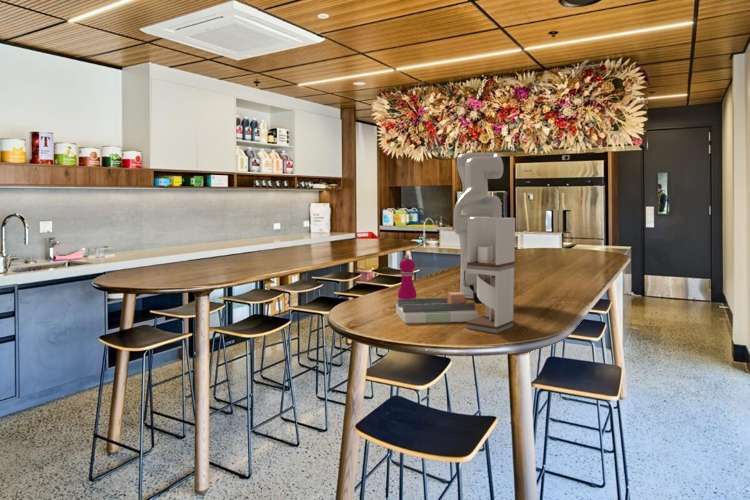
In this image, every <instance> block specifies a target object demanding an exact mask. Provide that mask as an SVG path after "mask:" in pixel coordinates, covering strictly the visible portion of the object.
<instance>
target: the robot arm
mask: <svg viewBox="0 0 750 500" xmlns="http://www.w3.org/2000/svg"><path fill="white" fill-rule="evenodd" d="M456 169H457V173H458V175H459V177H460V181H461V185H462V194H461V196H460V197H459V198H458V200H457V201H456V203H455V205H454V207H453V231H454V233H455V234H456V235H457V236H458V237H459V244H460V245H459V246H460V247H459V248H460V273H459V275H460V280H459V281H460V285H459V286H460V288H459V289H460V290H459V292H462V293H464V294H465V297H466V299H472V300H473V302H474V303H475V305H480V304H481V305H482V304H483V303H482V302H481V301H480V300H479V299H478V297H477V274H473V273H467V238H468V218H483V217H490V218H503V217H502V208H503V207H502V202H501V199H500V197H499V196H497V195H489V186H488V180H493V179H494V180H495V179H496V180H497V179H501V178H502V176H503V174H504V162H503V159H502V157H501V155H500V154H499V153H498V152H494V151H493V152H464V153H461V154H459V155H458V156H457V158H456Z"/></svg>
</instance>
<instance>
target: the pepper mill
mask: <svg viewBox="0 0 750 500" xmlns="http://www.w3.org/2000/svg"><path fill="white" fill-rule="evenodd" d="M398 265H399V270H401V271H400V276H401V283H400V286H399V288H398V291H397V299H414V298H417V291H416V288H415V285H414V282H413V281H414V280H413V276H414V272H415V271H414V269H415V267H416V263H415V261H414V260H413V259H411V258H410V255H409V254H405V255H404V258H403V259H402V260H401V261H400V262H399V264H398Z"/></svg>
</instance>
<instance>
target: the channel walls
mask: <svg viewBox="0 0 750 500" xmlns="http://www.w3.org/2000/svg"><path fill="white" fill-rule="evenodd" d="M447 299H448V297H426V298H425V297H422V298H420V297H419V298H417V297H416V298H414V299H399V298H397V304H398V306H403V312H435V311H468V310H475V311H476V303H475V302H474V301H473V302H472V301H471V302H467V298H466V297H465V303H447Z"/></svg>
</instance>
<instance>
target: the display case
mask: <svg viewBox="0 0 750 500" xmlns="http://www.w3.org/2000/svg"><path fill="white" fill-rule="evenodd" d="M515 242H516V217H502V218H490V217H483V218H468V238H467V273H473V274H477V297H478V299H479V300H480V301H481V302H482V303H481V304H483V305H484V306H485V311H484V313H485V314H484V315H482V316H478V318H476V319H473V320H470V321H465V322H466V323H465V324H466V327H465V328H466V329H469V330H475V331H481V332H488V333H493V334H499V333H501V332H503V331H506V330H508V329H511V328H513V327H514V304H515V303H514V301H515V300H514V299H515V298H514V294H515V259H516V257H515V256H516V255H515V253H516V252H515V247H516V245H515V244H516V243H515Z"/></svg>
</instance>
